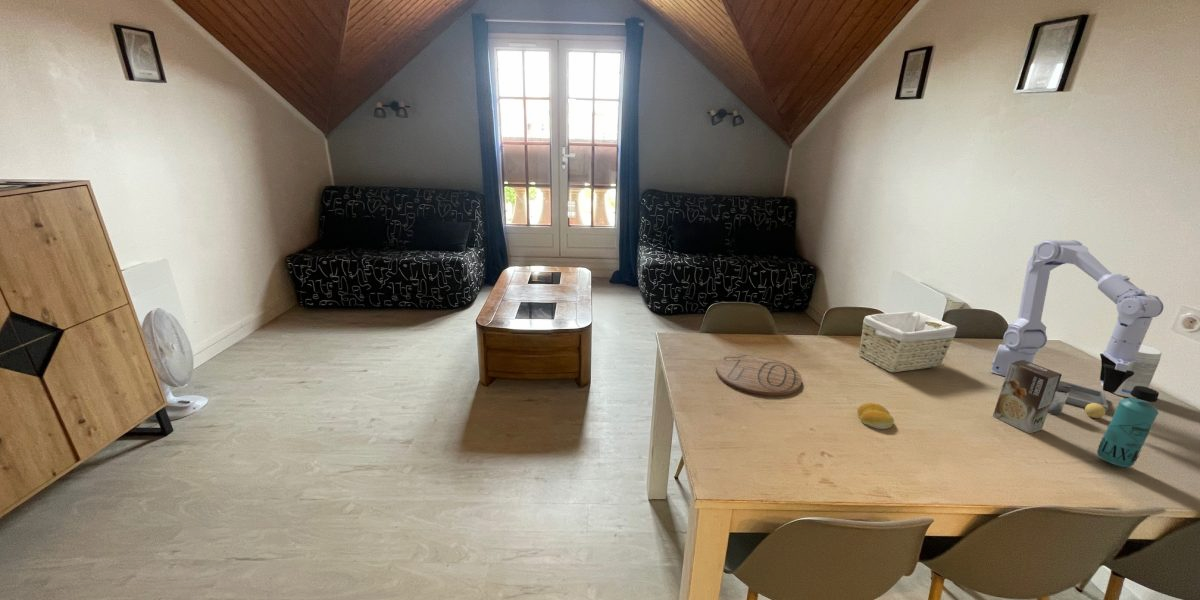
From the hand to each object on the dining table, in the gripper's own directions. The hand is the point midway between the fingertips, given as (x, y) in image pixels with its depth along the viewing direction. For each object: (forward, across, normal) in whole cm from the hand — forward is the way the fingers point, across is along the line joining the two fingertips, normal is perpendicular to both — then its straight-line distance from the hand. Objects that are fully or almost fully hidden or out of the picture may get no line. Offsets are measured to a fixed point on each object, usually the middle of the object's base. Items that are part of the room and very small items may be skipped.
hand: (1106, 386), depth 134 cm
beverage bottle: (+10, -26, -2) cm, 28 cm away
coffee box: (+10, -19, +16) cm, 27 cm away
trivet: (+10, -43, +79) cm, 90 cm away
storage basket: (+10, +1, +48) cm, 49 cm away
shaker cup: (+10, -4, +9) cm, 14 cm away
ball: (+7, 0, 0) cm, 7 cm away
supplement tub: (+10, +26, -8) cm, 29 cm away
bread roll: (+10, -45, +46) cm, 65 cm away
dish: (+9, +10, +3) cm, 14 cm away
